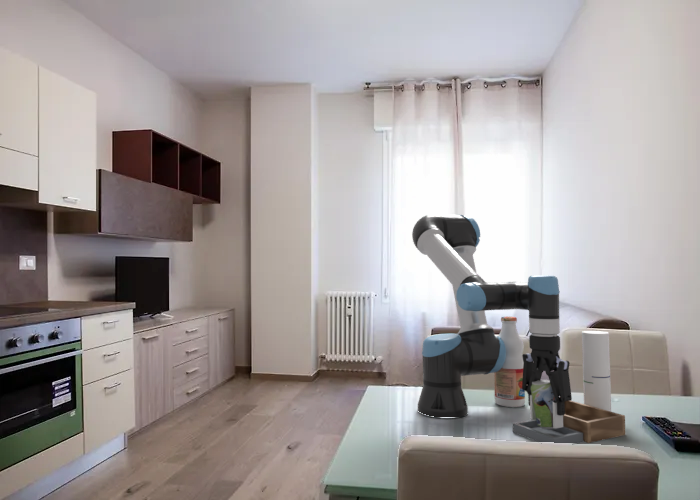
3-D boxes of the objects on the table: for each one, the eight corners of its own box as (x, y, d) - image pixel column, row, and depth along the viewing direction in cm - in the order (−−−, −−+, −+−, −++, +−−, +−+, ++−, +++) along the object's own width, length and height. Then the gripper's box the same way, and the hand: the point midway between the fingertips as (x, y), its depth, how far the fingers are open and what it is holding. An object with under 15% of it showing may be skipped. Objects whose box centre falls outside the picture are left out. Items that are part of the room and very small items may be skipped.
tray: (512, 431, 134) (512, 423, 134) (540, 426, 138) (540, 418, 138) (554, 448, 121) (554, 438, 122) (583, 442, 126) (583, 432, 126)
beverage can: (564, 432, 126) (563, 384, 127) (533, 430, 128) (532, 382, 128) (558, 424, 132) (557, 378, 133) (529, 422, 134) (528, 377, 134)
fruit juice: (492, 399, 167) (491, 315, 168) (520, 400, 166) (520, 315, 168) (497, 407, 158) (497, 318, 159) (528, 408, 157) (527, 318, 158)
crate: (530, 422, 142) (530, 404, 142) (566, 416, 148) (565, 399, 148) (588, 443, 125) (587, 422, 125) (625, 434, 131) (624, 415, 131)
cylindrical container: (610, 423, 140) (607, 334, 142) (582, 420, 144) (580, 332, 145) (612, 417, 147) (610, 331, 148) (585, 414, 150) (583, 330, 151)
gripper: (586, 338, 124) (589, 432, 123) (526, 329, 142) (528, 411, 141) (565, 340, 121) (567, 436, 120) (506, 331, 138) (508, 415, 137)
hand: (546, 423), depth 130 cm, fingers closed on beverage can, 7 cm apart
